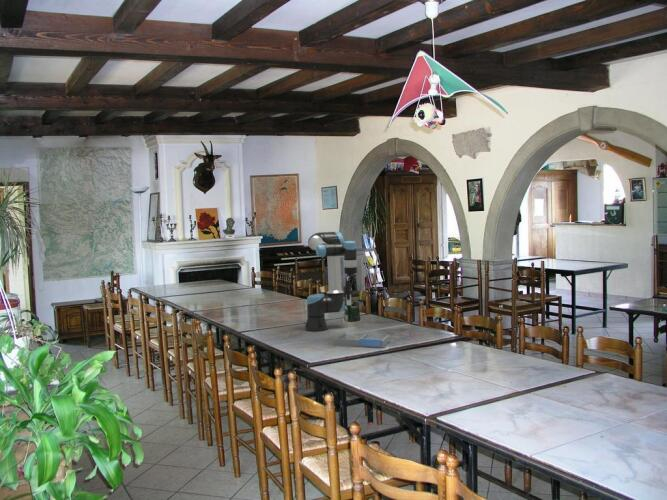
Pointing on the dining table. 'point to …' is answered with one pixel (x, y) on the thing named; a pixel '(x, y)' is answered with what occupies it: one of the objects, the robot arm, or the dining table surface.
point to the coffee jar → (352, 307)
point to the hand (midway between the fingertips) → (351, 303)
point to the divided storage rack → (361, 341)
